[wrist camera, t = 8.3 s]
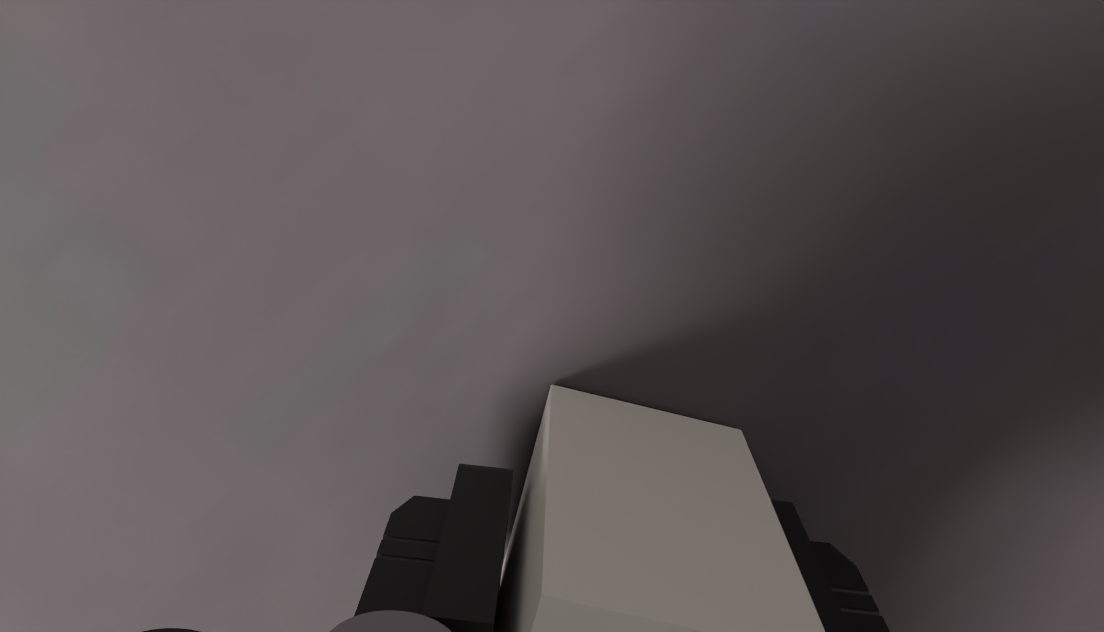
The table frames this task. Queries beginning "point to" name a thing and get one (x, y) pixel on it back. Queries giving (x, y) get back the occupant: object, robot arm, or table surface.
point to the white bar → (646, 529)
